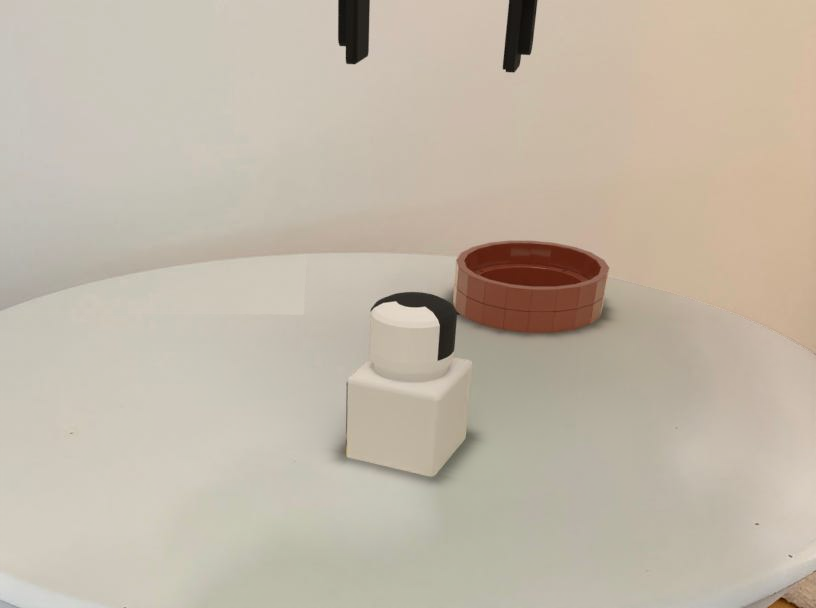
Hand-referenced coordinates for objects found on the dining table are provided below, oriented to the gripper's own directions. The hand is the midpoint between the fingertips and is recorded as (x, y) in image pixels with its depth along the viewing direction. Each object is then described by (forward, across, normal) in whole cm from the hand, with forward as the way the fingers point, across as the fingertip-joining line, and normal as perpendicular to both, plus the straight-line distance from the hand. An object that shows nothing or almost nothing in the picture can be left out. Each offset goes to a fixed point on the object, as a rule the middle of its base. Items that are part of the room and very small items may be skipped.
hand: (433, 64), depth 61 cm
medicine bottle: (+26, 0, +2) cm, 26 cm away
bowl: (+26, -5, -31) cm, 41 cm away
